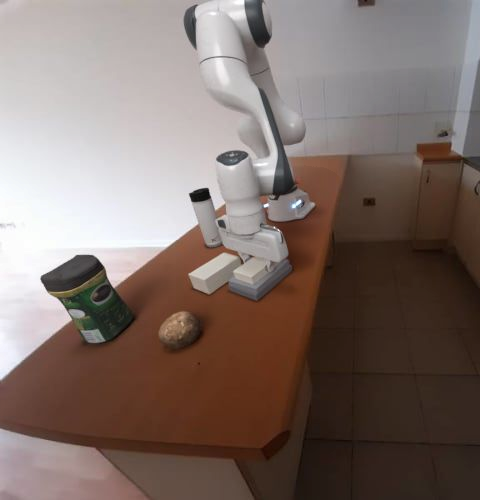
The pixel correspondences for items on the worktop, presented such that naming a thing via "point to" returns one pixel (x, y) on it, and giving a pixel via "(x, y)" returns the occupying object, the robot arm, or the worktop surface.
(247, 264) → the cream flat block
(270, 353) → the worktop surface
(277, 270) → the grey book
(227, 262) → the white book
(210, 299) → the worktop surface
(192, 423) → the worktop surface
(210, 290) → the white book
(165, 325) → the brown oval lump
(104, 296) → the coffee jar
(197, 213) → the travel mug
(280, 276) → the grey book
